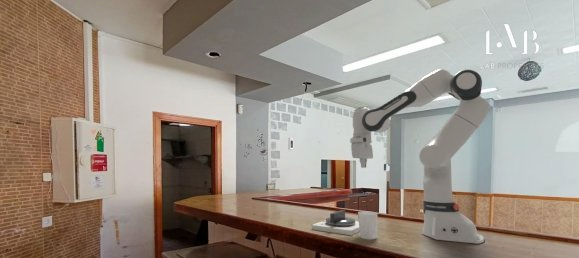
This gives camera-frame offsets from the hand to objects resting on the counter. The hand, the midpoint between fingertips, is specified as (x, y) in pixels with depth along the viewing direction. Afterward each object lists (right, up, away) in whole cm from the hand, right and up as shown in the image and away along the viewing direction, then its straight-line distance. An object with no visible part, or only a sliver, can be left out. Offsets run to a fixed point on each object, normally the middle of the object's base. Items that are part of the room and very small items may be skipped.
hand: (363, 167), depth 140 cm
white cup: (-4, -26, -23) cm, 35 cm away
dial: (-13, -26, -6) cm, 30 cm away
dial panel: (-13, -28, -6) cm, 31 cm away
